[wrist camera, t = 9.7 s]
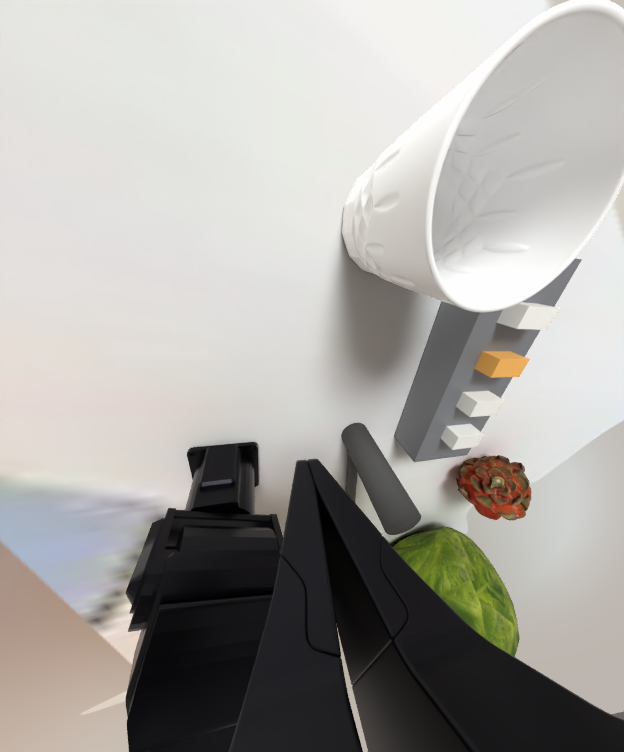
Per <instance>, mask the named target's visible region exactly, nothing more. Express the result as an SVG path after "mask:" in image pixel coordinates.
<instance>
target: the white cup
mask: <svg viewBox="0 0 624 752" xmlns="http://www.w3.org/2000/svg"><path fill="white" fill-rule="evenodd" d="M623 183H624V9H623V8H622V7H620V6H619V5H617V4H615V3H613V2H611V1H609V0H570V1H568V2H564V3H562V4H559V5H557V6H555V7H553V8H551V9H549V10H547V11H545V12H544V13H542V14H540V15H539V16H537V17H536V18H534V19H533V20H532V21H530V22H529V23H528V24H526V25H525V26H524V27H523V28H521V29H520V30H519V31H518V32H517V33H516V34H514V35H513V36H512V37H511V38H510V39H509V40H508V41H507V42H505V43H504V44H503V45H502V46H501V47H500V48H499V49H498V50H496V51H495V52H494V53H493V54H492V55H491V56H490V57H489V58H487V59H486V60H485V61H484V62H483V63H482V64H481V65H479V66H478V67H477V68H476V69H475V70H474V71H473V72H472V73H470V74H469V75H468V76H467V77H466V78H465V79H464V80H462V81H461V82H460V83H459V84H458V85H457V86H456V87H455V88H454V89H453V90H451V91H450V92H449V93H448V94H447V95H446V96H445V97H443V98H442V99H441V100H440V101H439V102H438V103H437V104H435V105H434V106H433V107H432V108H431V109H430V110H428V111H427V112H426V113H425V114H424V115H422V116H421V117H420V118H419V119H418V120H417V121H416V122H414V123H413V124H412V125H411V126H410V127H409V129H408V130H407V131H406V132H404V133H403V134H402V135H401V136H400V137H399V138H397V139H396V140H395V141H394V142H393V143H392V144H391V146H389V147H388V148H387V149H386V150H385V151H384V152H383V153H382V154H381V155H380V157H379V158H378V160H377V161H376V162H375V163H374V164H373V165H372V166H371V167H370V168H368V169H367V170H366V171H365V172H364V173H363V174H362V175H361V176H360V177H359V178H358V179H357V180H356V181H355V183H354V185H353V187H352V189H351V192H350V194H349V196H348V198H347V201H346V203H345V205H344V211H343V225H342V235H343V238H344V242H345V245H346V248H347V251H348V254H349V256H350V257H351V258H352V260H353V261H354V262H355V263H356V264H357V265H358V266H359V267H360V268H361V269H362V270H363V271H366V272H370V273H373V274H376V275H377V276H379V277H380V278H382V279H384V280H386V281H389V282H391V283H394V284H396V285H398V286H400V287H403V288H406V289H409V290H412V291H415V292H417V293H420V294H423V295H426V296H429V297H431V298H434V299H437V300H440V301H442V302H445V303H448V304H451V305H453V306H456V307H459V308H461V309H464V310H467V311H471V312H480V313H485V312H494V311H499V310H503V309H506V308H509V307H512V306H514V305H516V304H519V303H521V302H523V301H524V300H526V299H528V298H530V297H531V296H533V295H534V294H536V293H537V292H539V291H540V290H542V289H543V288H544V287H546V286H547V285H548V284H549V283H551V282H552V281H553V280H554V279H555V278H556V277H557V276H559V275H560V274H561V273H562V272H563V271H564V270H565V269H566V268H567V267H568V266H569V265H570V264H571V263H572V261H573V260H574V259H575V258H576V257H577V256H578V255H579V253H580V252H581V251H582V250H583V249H584V247H585V246H586V245H587V244H588V242H589V241H590V240H591V238H592V237H593V235H594V234H595V233H596V231H597V230H598V228H599V227H600V225H601V224H602V222H603V220H604V219H605V217H606V216H607V214H608V212H609V210H610V209H611V207H612V205H613V203H614V201H615V199H616V198H617V196H618V194H619V192H620V190H621V188H622V185H623Z"/></svg>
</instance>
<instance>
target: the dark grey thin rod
mask: <svg viewBox="0 0 624 752" xmlns="http://www.w3.org/2000/svg"><path fill="white" fill-rule="evenodd" d="M356 483H357V469H356V467H355V465H354V463H353V461H352V459H351V457H350V454H349V458H348V476H347V494H348V495H349V497H350V498H351V499H352V500H353V501H354V503H355V494H356Z"/></svg>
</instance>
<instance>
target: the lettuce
mask: <svg viewBox="0 0 624 752" xmlns="http://www.w3.org/2000/svg"><path fill="white" fill-rule="evenodd" d="M393 548H394V549H395V551H396V552H397V553H398V554H399V555H400V556H401V557H402V558H403V560H404V561H405V562H406V563H407V564H408V565H409V566H410V567H411V568H412V569H413V570H414V571H415V572H416V573H417V574H418V575H419V576H420V577H421V578H422V579H423V580H424V581H425V582H426V583H427V584H428V585H429V586H430V587H431V588H432V589H433V590H434V591H435V592H436V593H437V594H438V595H439V596H440V597H441V598H442V599H443V600H444V601H445V602H446V603H447V604H448V605H449V606H450V607H451V608H452V609H453V610H454V611H455V612H456V613H457V614H458V615H459V616H460V617H461V618H462V619H463V620H464V621H465V622H466V623H467V624H468V625H469V626H470V627H472V628H473V629H474V630H475V631H476V632H478V633H479V634H480V635H481V636H483V637H484V638H485V639H487V640H488V641H489V642H491V643H492V644H494V645H495V646H497V647H499V648H500V649H502V650H503V651H505V652H507V653H508V654H510V655H512V656H513V657H515V654H516V651H517V647H518V642H519V632H518V625H517V619H516V614H515V610H514V606H513V603H512V600H511V598H510V596H509V594H508V592H507V589H506V587H505V585H504V584H503V582H502V580H501V578H500V577H499V575H498V573H497V572H496V570H495V568H494V567H493V565H492V564H491V563H490V561H489V560H488V559H487V557H486V556H485V554H484V553H483V552H482V551H481V549H480V548H479V547H478V546H477V545H476V544H475V543H474V542H473V541H472V540H471V539H470V538H469V537H467V536H466V535H464V534H463V533H461V532H459V531H457V530H455V529H452V528H448V527H440V528H438V529H435V530H432V531H427V532H421V533H417V534H414V535H411V536H408V537H406V538H405V539H403V540H401V541H399V542H398V543H397V544H396V545H394V546H393Z"/></svg>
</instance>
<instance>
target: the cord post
mask: <svg viewBox="0 0 624 752" xmlns="http://www.w3.org/2000/svg"><path fill="white" fill-rule="evenodd" d="M342 439H343V441H344V444H345V446H346V448H347V450H348V452H349V454H350V457H351V459H352V461H353V463H354V465H355V467H356V469H357V472H358V474H359V476H360V478H361V480H362V482H363V485H364V487H365V489H366V491H367V493H368V495H369V497H370V500H371V502H372V504H373V506H374V508H375V510H376V513H377V515H378V517H379V519H380V521H381V523H382V525H383V528H384V530H385V532H386V533H387V534H389V535H396V534H401V533H403V532H406V531H408V530H410V529H411V528H413V527H414V526H415V525H416V524H417V523H418V522H419V521H420V519H421V515H420V513H419V511H418V510H417V508H416V507H415V505H414V503H413V502H412V500H411V499H410V497H409V495H408V494H407V492H406V491H405V489H404V487H403V486H402V484H401V483H400V481H399V479H398V478H397V476H396V475H395V473H394V471H393V470H392V468H391V467H390V465H389V463H388V462H387V460H386V459H385V457H384V455H383V454H382V452H381V451H380V449H379V447H378V446H377V444H376V443H375V441H374V439H373V438H372V436H371V435H370V433H369V431H368V430H367V428H366V427H365V425H363V424H361V423H354V424H351V425H349V426H347V427H346V428H345V429H344V430H343V432H342Z"/></svg>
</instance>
